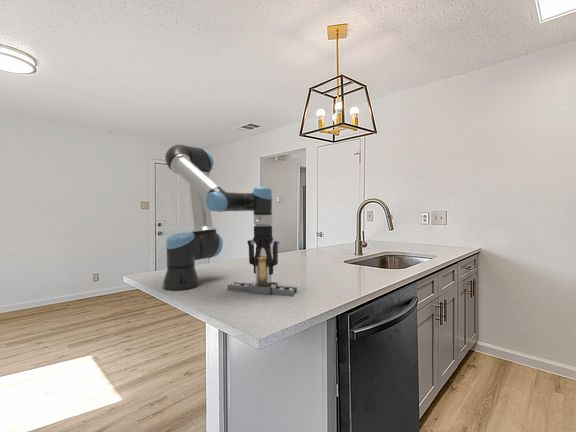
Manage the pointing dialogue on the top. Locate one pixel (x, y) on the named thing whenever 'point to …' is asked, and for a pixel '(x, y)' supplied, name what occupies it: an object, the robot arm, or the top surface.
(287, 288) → the chain joint
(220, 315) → the top surface
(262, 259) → the pin
